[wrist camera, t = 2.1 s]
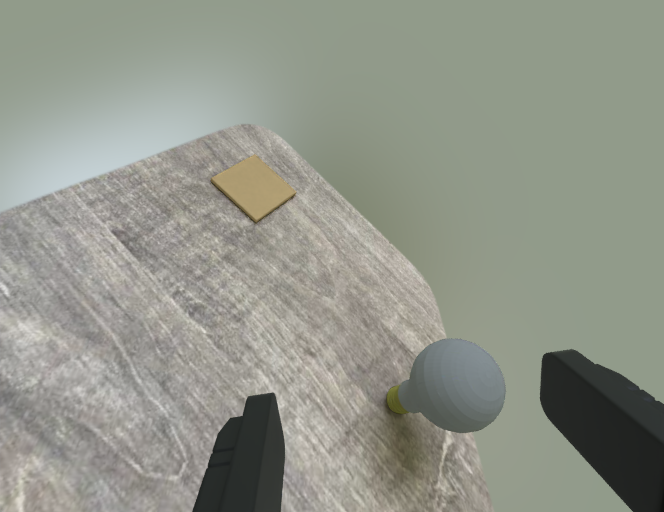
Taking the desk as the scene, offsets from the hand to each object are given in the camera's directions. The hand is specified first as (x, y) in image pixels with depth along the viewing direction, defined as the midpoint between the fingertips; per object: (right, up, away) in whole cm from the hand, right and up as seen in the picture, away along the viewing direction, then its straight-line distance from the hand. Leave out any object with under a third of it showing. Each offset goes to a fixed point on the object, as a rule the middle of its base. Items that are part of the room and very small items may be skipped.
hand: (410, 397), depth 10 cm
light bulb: (+3, -7, +17) cm, 19 cm away
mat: (-9, +11, +22) cm, 26 cm away
